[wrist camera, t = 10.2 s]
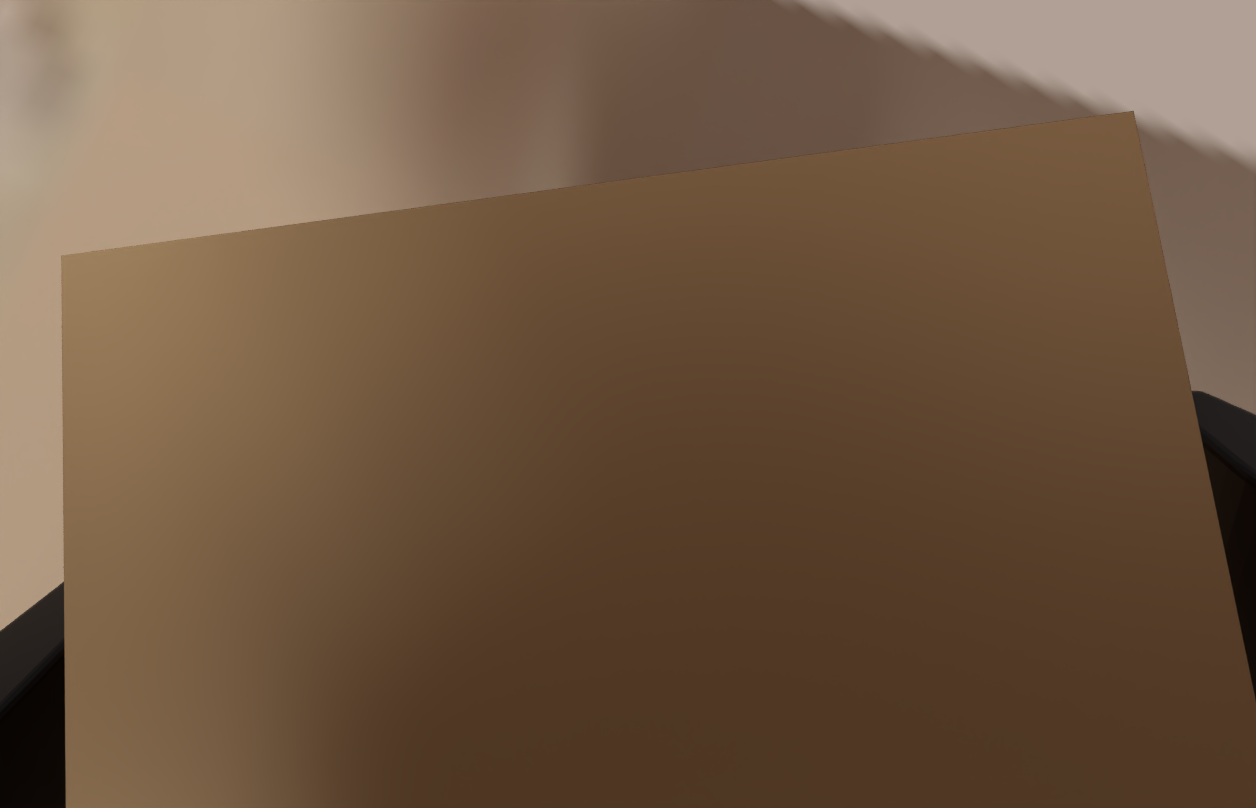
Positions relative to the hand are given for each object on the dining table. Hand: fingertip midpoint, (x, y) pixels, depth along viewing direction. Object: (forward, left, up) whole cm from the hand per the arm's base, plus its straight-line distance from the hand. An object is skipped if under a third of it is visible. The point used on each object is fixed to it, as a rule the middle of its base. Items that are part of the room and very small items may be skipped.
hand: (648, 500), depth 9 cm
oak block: (-1, 0, -8) cm, 8 cm away
